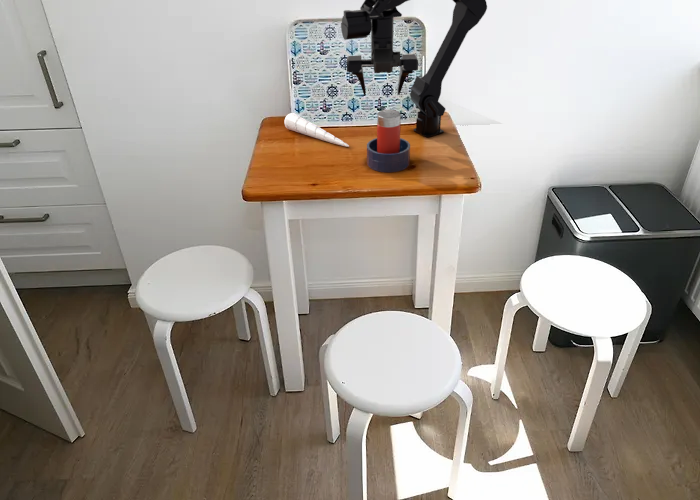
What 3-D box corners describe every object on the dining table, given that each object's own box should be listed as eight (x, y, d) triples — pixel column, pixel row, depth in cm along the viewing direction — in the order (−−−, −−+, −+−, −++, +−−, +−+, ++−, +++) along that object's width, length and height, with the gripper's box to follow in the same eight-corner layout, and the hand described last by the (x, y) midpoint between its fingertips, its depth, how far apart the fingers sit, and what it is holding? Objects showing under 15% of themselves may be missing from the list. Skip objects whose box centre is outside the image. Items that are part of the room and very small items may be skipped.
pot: (392, 150, 158) (392, 133, 156) (418, 164, 151) (419, 147, 148) (358, 160, 154) (358, 143, 151) (383, 176, 146) (383, 158, 143)
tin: (383, 154, 155) (383, 108, 148) (403, 158, 153) (404, 111, 145) (373, 163, 151) (373, 115, 144) (393, 167, 148) (394, 119, 141)
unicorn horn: (339, 152, 158) (339, 136, 155) (283, 130, 172) (282, 114, 169) (351, 147, 161) (351, 130, 158) (295, 125, 175) (294, 110, 172)
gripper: (345, 45, 142) (347, 106, 151) (421, 43, 142) (418, 104, 151) (346, 33, 151) (347, 91, 160) (417, 31, 151) (414, 90, 160)
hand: (381, 94), depth 157 cm, fingers open, 9 cm apart
